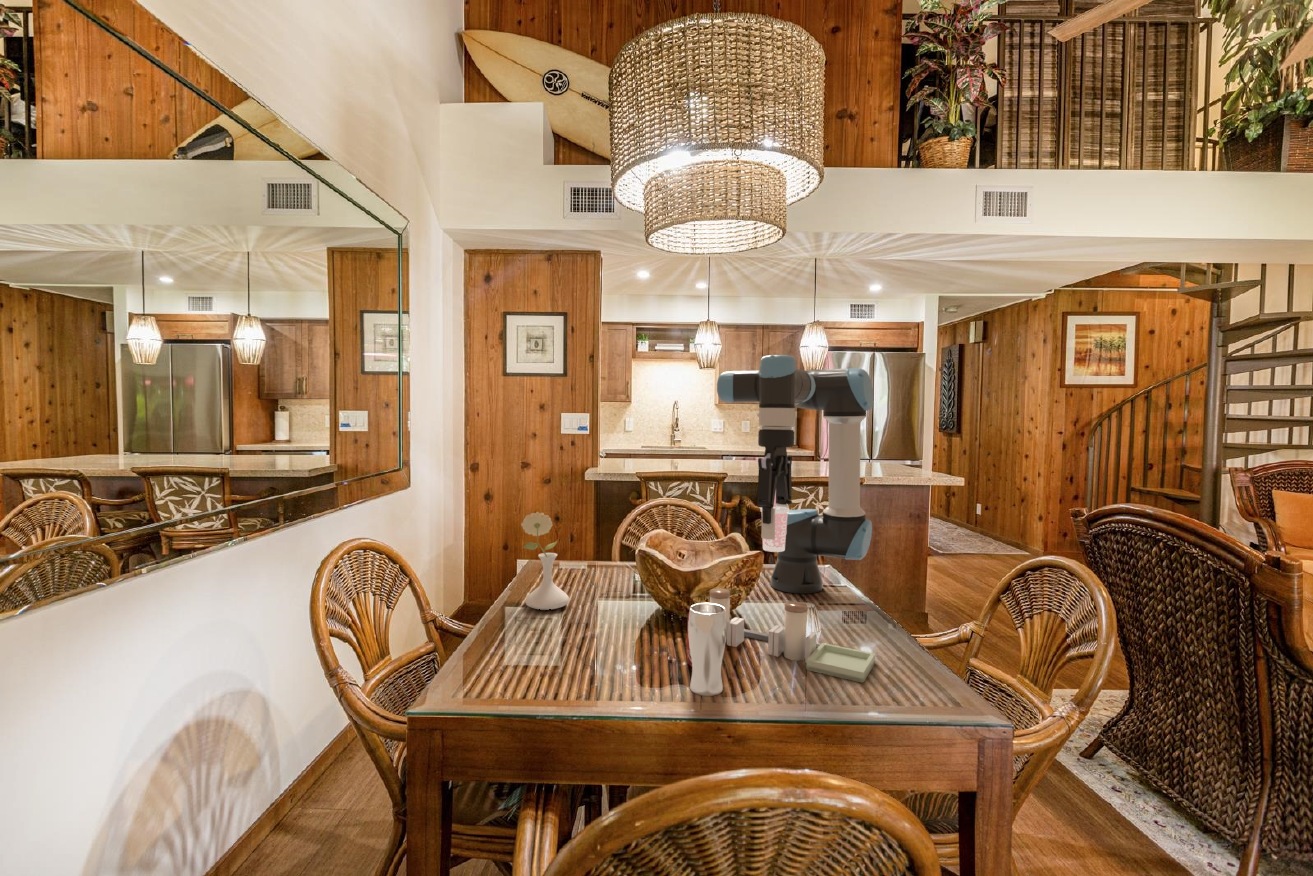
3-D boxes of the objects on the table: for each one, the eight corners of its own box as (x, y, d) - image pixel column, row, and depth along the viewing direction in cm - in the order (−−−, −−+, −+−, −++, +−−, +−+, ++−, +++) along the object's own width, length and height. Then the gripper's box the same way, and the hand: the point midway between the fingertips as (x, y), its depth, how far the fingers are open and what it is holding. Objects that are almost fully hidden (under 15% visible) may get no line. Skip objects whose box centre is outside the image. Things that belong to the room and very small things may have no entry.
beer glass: (685, 680, 114) (686, 602, 113) (721, 680, 114) (722, 602, 114) (690, 697, 107) (691, 614, 106) (728, 697, 107) (729, 614, 107)
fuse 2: (787, 650, 130) (788, 600, 129) (808, 655, 127) (809, 603, 127) (780, 657, 126) (781, 605, 125) (801, 662, 123) (803, 609, 123)
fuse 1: (714, 634, 139) (715, 587, 138) (732, 638, 136) (733, 590, 136) (705, 640, 135) (706, 592, 134) (724, 644, 132) (724, 595, 132)
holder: (714, 627, 143) (714, 607, 143) (822, 650, 130) (823, 628, 129) (698, 638, 136) (698, 616, 136) (811, 664, 122) (811, 640, 122)
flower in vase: (574, 601, 162) (575, 509, 161) (561, 615, 151) (562, 516, 150) (528, 598, 164) (528, 508, 163) (512, 612, 153) (512, 514, 152)
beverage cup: (772, 553, 124) (773, 486, 124) (753, 548, 129) (754, 483, 129) (794, 551, 127) (795, 485, 127) (775, 545, 132) (776, 482, 132)
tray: (821, 652, 129) (822, 642, 129) (875, 663, 123) (875, 653, 123) (806, 669, 120) (806, 659, 119) (863, 683, 114) (863, 672, 114)
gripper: (776, 427, 138) (774, 527, 138) (741, 428, 122) (739, 541, 122) (808, 428, 133) (806, 531, 134) (776, 428, 117) (773, 545, 118)
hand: (774, 536), depth 128 cm, fingers closed on beverage cup, 6 cm apart
